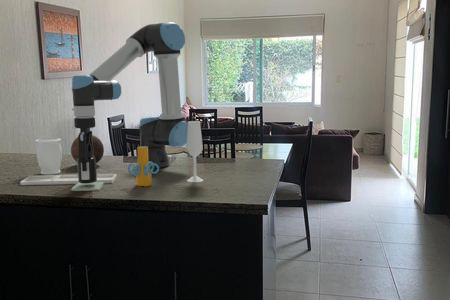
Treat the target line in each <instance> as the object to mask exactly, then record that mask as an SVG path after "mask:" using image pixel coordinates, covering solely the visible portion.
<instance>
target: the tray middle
mask: <svg viewBox="0 0 450 300" xmlns="http://www.w3.org/2000/svg"><path fill="white" fill-rule="evenodd" d="M77 183H79V181H78V174H59V175H58V177H56V178H55V179H54V180H53V181H52V184H51V185H52V186H53V185H76V184H77Z"/></svg>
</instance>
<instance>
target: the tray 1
mask: <svg viewBox="0 0 450 300" xmlns="http://www.w3.org/2000/svg"><path fill="white" fill-rule="evenodd" d="M58 176H59V175H58V174H52V175H43V174H40V175H29V176H27V177H25V178H24V179H22V180H21V181H19V183H20V184H19V185H20V186H44V185H46V186H47V185H48V186H51V185H52V181H53V180H54V179H55V178H56V177H58Z"/></svg>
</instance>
